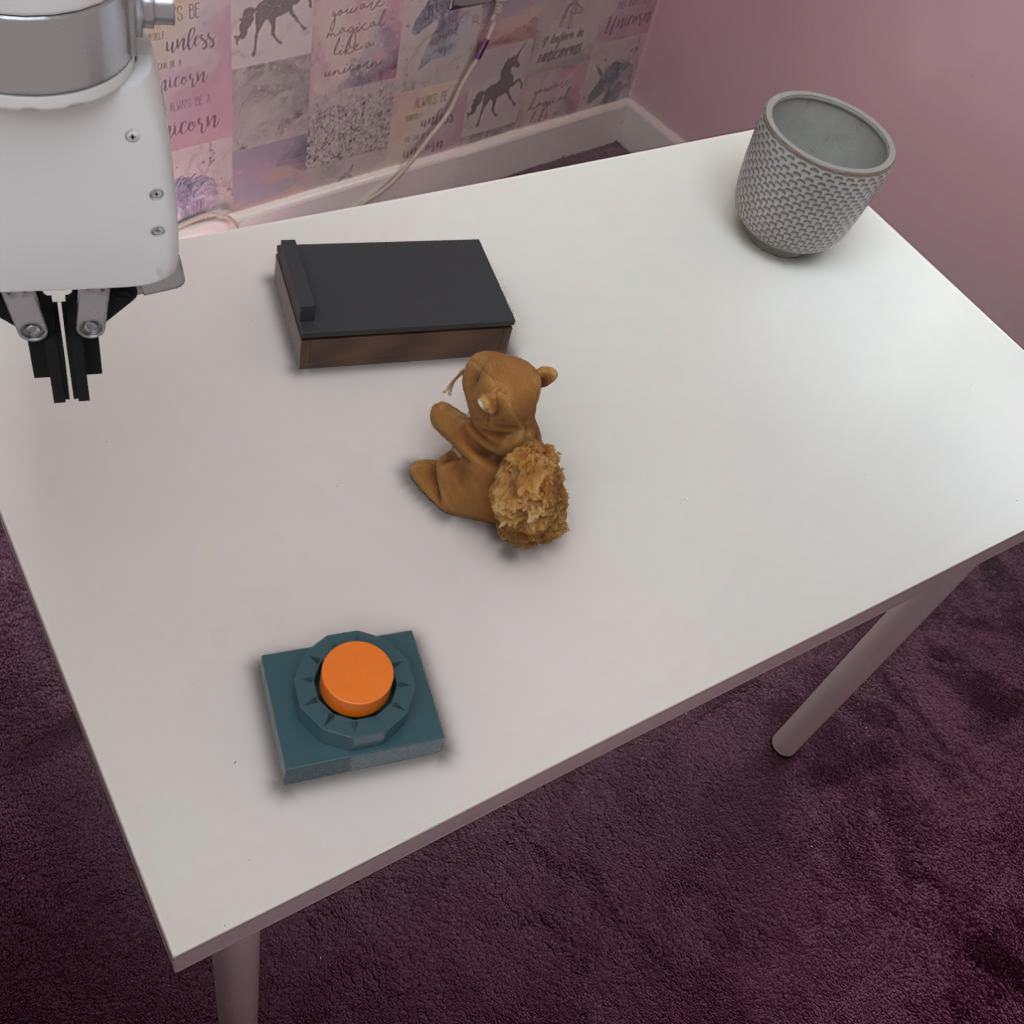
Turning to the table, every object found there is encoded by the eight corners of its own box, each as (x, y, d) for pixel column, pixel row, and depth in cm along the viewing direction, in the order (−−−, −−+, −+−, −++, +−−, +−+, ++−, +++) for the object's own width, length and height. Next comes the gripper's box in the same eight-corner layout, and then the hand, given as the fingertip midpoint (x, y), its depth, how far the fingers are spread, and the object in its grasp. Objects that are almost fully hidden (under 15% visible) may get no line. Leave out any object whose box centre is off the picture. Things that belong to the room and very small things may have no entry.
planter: (689, 211, 112) (735, 101, 102) (775, 185, 119) (826, 79, 109) (778, 294, 107) (836, 186, 97) (862, 261, 114) (925, 157, 104)
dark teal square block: (283, 785, 65) (287, 757, 62) (259, 671, 69) (262, 640, 66) (439, 752, 68) (450, 724, 65) (407, 646, 73) (416, 615, 69)
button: (327, 723, 64) (330, 710, 63) (312, 661, 66) (314, 646, 65) (398, 710, 65) (401, 696, 64) (380, 649, 68) (384, 635, 66)
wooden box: (298, 369, 86) (301, 341, 84) (274, 281, 92) (275, 253, 89) (505, 354, 93) (513, 328, 90) (470, 273, 98) (476, 246, 96)
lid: (302, 338, 83) (304, 317, 82) (276, 250, 89) (277, 229, 87) (514, 325, 90) (520, 306, 88) (478, 244, 96) (482, 224, 94)
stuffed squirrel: (500, 422, 87) (538, 301, 77) (596, 550, 81) (651, 438, 71) (394, 456, 83) (420, 333, 72) (488, 595, 77) (530, 482, 66)
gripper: (221, -30, 41) (217, 319, 55) (-229, -60, 36) (-108, 335, 50) (255, 79, 37) (241, 425, 51) (-245, 64, 32) (-108, 455, 46)
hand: (69, 380), depth 51 cm, fingers closed
